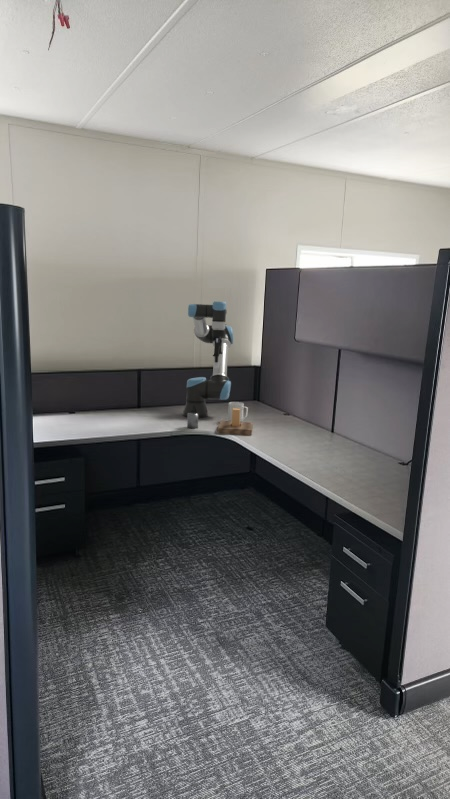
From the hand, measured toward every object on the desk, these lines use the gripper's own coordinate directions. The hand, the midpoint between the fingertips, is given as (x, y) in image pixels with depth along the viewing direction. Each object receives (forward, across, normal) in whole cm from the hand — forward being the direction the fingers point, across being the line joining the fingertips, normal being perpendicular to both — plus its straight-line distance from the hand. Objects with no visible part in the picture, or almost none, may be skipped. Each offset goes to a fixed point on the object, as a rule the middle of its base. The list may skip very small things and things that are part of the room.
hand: (217, 366), depth 309 cm
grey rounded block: (+33, -16, +11) cm, 38 cm away
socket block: (+33, -17, -13) cm, 39 cm away
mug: (+33, +4, -13) cm, 36 cm away
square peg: (+33, -17, -13) cm, 39 cm away
